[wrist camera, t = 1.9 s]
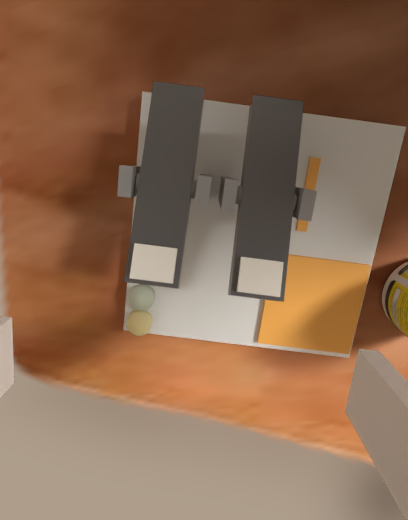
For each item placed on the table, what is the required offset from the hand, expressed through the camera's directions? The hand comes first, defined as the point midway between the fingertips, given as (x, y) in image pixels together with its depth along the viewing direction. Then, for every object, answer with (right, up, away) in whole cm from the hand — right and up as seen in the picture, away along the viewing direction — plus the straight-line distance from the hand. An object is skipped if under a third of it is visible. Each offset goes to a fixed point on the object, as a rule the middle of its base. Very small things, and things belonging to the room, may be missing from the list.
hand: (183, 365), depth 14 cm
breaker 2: (+4, +7, +6) cm, 11 cm away
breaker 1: (-1, +8, +6) cm, 10 cm away
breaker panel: (+4, +6, +13) cm, 15 cm away
